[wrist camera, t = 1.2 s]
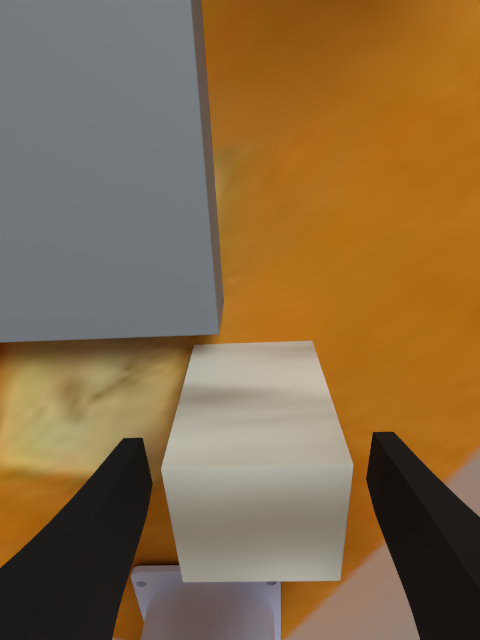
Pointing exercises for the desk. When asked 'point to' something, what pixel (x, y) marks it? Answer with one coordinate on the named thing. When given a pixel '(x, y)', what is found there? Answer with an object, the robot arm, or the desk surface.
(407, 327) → the desk surface
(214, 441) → the cream block
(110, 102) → the base block
